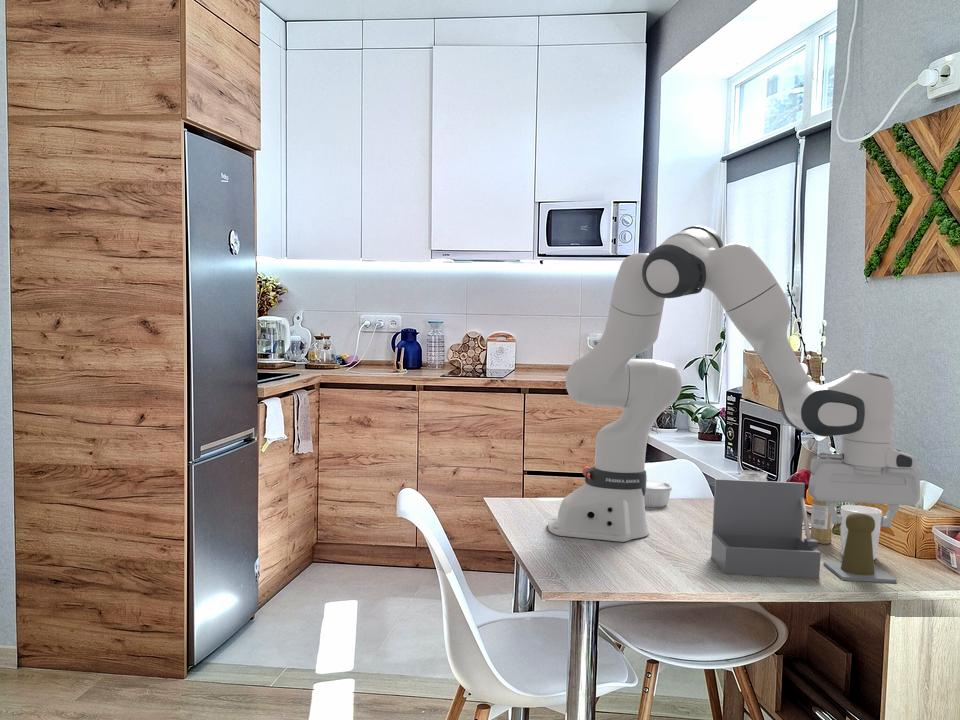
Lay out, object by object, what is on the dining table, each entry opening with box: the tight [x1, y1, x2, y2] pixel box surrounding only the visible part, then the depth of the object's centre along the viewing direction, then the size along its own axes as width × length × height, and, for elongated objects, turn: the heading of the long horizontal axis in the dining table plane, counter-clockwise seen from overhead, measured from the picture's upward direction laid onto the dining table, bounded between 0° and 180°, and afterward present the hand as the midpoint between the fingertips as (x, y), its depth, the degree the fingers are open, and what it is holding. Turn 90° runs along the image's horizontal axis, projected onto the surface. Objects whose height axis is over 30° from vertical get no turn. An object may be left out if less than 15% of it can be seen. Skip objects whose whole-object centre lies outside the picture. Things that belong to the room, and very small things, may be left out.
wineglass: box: [737, 469, 769, 481], centre depth 204 cm, size 7×7×12 cm
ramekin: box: [644, 479, 673, 508], centre depth 221 cm, size 11×11×5 cm
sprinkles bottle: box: [810, 498, 833, 545], centre depth 187 cm, size 5×5×14 cm
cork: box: [841, 513, 875, 575], centre depth 163 cm, size 6×6×11 cm
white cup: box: [839, 504, 883, 560], centre depth 176 cm, size 8×8×10 cm
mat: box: [822, 561, 898, 584], centre depth 164 cm, size 10×10×1 cm
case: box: [710, 478, 822, 580], centre depth 165 cm, size 18×12×16 cm, turn 87°
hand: (860, 525), depth 164 cm, fingers open, 8 cm apart
